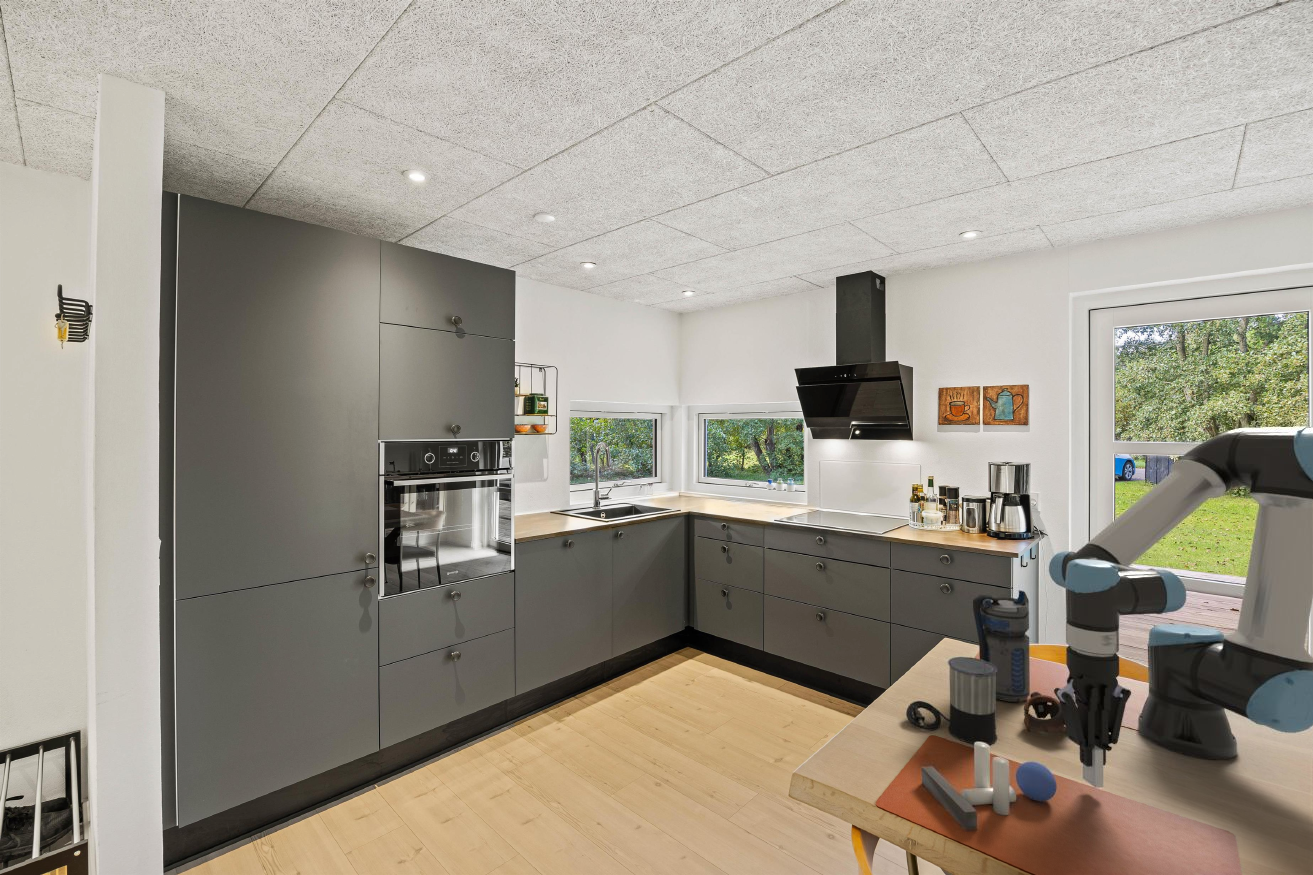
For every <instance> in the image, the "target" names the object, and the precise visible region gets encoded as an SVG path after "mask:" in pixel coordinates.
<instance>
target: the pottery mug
mask: <svg viewBox="0 0 1313 875" xmlns="http://www.w3.org/2000/svg"><path fill="white" fill-rule="evenodd" d="M1029 697H1030V698H1029V699H1026V700H1025V703H1024V705H1023V711H1024V712H1023V716H1024V719H1023V725H1024V727H1025V729H1026V731H1027V732H1030V730H1033V731H1035V732H1043V733H1048V732H1051V733H1053V732H1056V731H1062V732H1063V731H1064V732H1067V731H1066V726H1065V722H1064V718H1063V714H1062V710H1061V705H1060V701H1059V699H1058V698H1055V697H1052V696H1049V695H1046V694H1041V693H1040V692H1038V691H1034V692H1031V693H1030V695H1029ZM1031 707H1032V709H1033V710H1034V714H1035V716H1036V717H1035V716H1033V715H1032V714H1031V713H1030V710H1029V709H1030V708H1031ZM1048 716H1049V717H1050V718H1047V717H1048Z"/></svg>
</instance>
